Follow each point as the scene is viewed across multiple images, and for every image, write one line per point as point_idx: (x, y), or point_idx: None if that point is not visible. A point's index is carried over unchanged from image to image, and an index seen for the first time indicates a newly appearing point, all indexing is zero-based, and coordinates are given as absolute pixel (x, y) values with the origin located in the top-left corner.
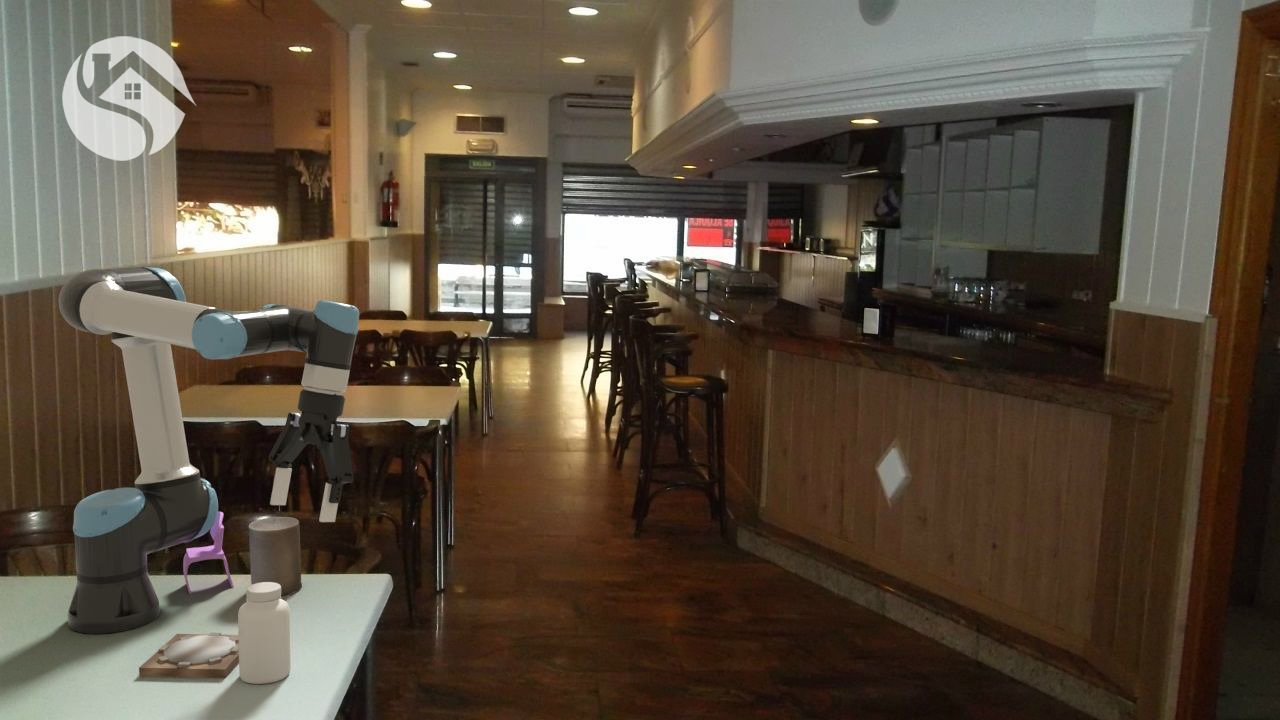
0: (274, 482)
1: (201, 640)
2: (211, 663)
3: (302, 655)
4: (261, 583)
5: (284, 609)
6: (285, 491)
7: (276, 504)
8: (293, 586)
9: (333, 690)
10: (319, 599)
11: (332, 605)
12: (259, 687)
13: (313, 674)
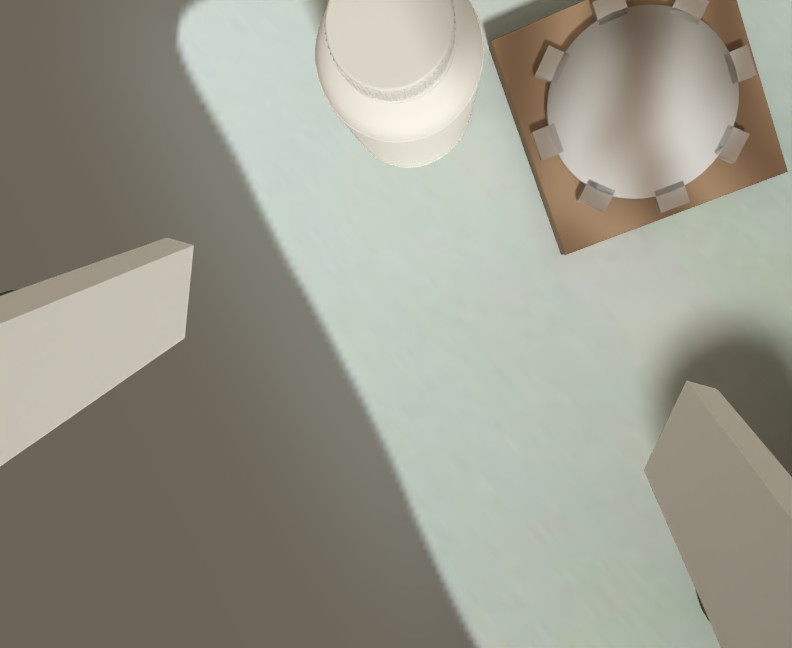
0: (786, 479)
1: (675, 146)
2: (546, 47)
3: (404, 241)
4: (426, 52)
5: (318, 66)
6: (681, 515)
7: (674, 410)
8: None
9: (209, 109)
10: (601, 559)
11: (541, 537)
12: None
13: (307, 161)
